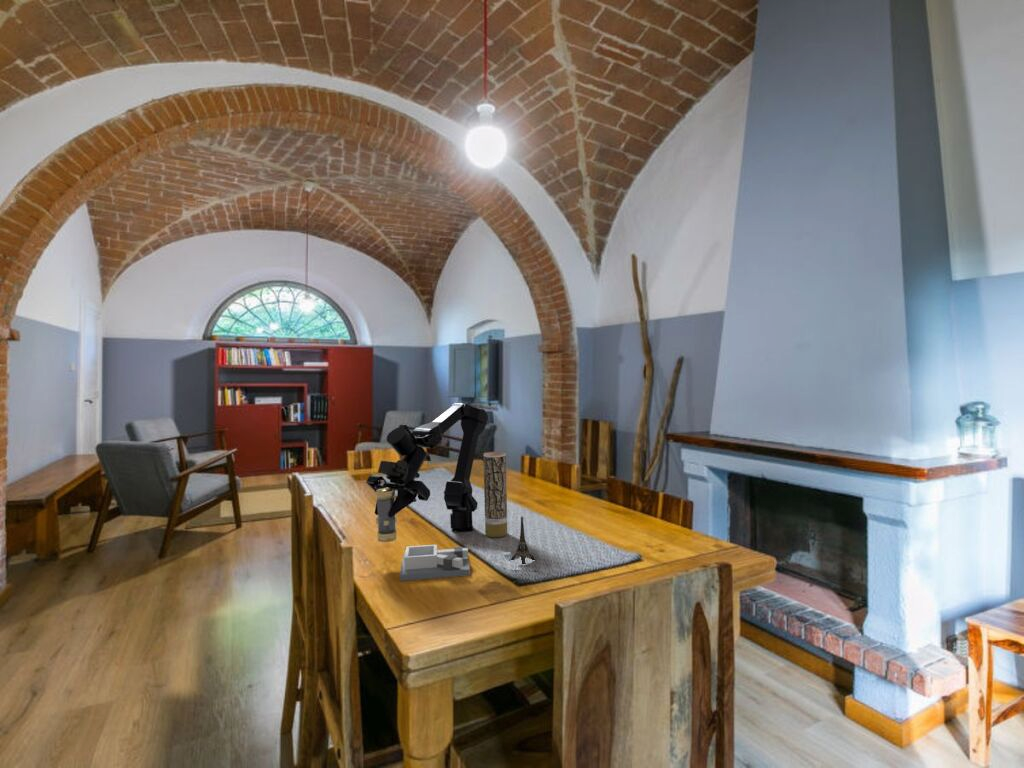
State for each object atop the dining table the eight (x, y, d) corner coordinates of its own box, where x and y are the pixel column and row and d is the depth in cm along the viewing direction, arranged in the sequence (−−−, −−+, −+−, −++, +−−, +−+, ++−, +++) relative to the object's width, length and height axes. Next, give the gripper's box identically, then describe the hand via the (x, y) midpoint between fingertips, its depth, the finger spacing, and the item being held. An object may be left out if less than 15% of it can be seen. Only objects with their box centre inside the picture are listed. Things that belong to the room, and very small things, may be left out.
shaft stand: (466, 554, 140) (466, 538, 140) (470, 576, 125) (469, 558, 125) (403, 559, 137) (403, 543, 137) (399, 582, 123) (399, 563, 123)
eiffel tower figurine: (501, 553, 142) (500, 505, 142) (537, 551, 143) (536, 504, 142) (502, 575, 127) (501, 522, 127) (543, 573, 128) (542, 520, 127)
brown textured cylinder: (504, 538, 152) (503, 455, 151) (482, 537, 153) (480, 455, 153) (509, 531, 159) (507, 451, 158) (488, 530, 160) (486, 451, 159)
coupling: (397, 534, 137) (396, 486, 136) (397, 541, 132) (395, 491, 131) (377, 536, 136) (376, 488, 135) (376, 543, 131) (374, 493, 130)
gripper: (369, 446, 141) (339, 495, 132) (421, 450, 132) (393, 503, 123) (390, 469, 148) (363, 516, 139) (441, 474, 139) (416, 526, 130)
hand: (382, 515), depth 132 cm, fingers closed on coupling, 4 cm apart
